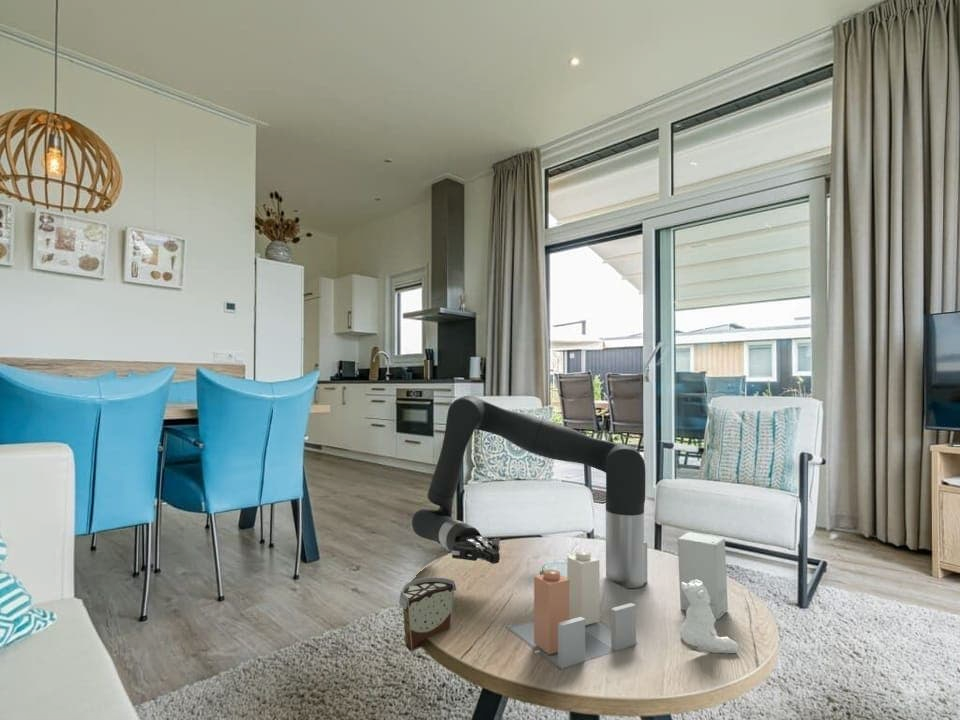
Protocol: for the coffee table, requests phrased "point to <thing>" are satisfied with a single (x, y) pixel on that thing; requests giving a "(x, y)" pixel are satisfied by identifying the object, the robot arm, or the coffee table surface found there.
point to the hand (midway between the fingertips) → (496, 558)
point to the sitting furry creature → (702, 622)
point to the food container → (426, 608)
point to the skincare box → (704, 569)
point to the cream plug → (584, 587)
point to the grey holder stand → (585, 637)
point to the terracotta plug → (549, 608)
